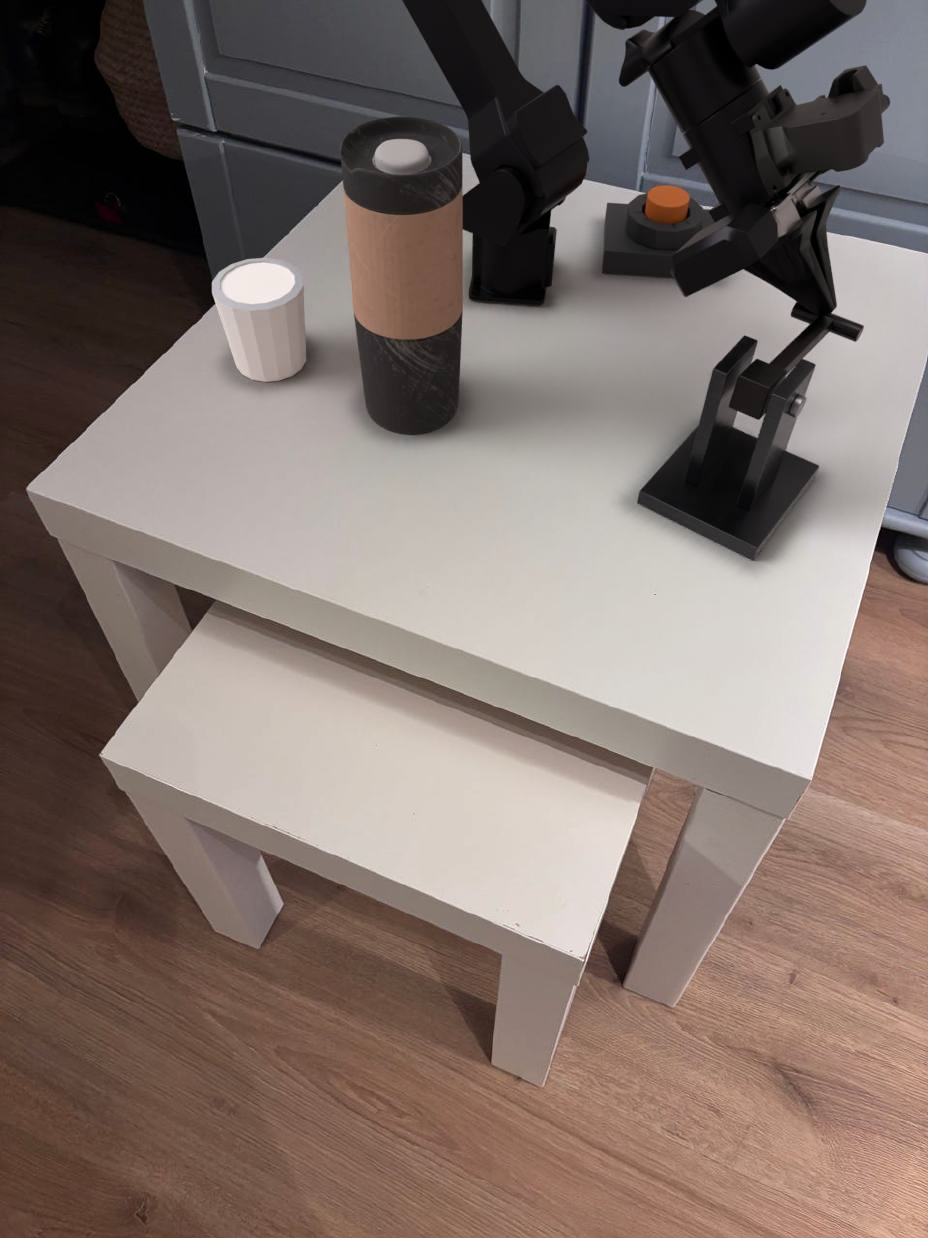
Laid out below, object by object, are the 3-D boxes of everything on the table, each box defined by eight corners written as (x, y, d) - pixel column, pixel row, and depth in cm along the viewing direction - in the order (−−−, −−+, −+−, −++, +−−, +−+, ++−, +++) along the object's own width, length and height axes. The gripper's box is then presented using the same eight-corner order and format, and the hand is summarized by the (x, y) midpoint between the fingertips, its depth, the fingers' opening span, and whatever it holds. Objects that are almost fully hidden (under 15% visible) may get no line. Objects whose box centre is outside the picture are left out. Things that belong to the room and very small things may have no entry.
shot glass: (329, 346, 80) (320, 269, 74) (285, 396, 76) (272, 318, 70) (257, 324, 81) (243, 247, 76) (210, 372, 77) (192, 294, 72)
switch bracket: (703, 427, 74) (736, 302, 65) (815, 477, 71) (864, 353, 62) (636, 503, 69) (662, 378, 60) (752, 561, 66) (797, 438, 57)
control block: (601, 273, 86) (607, 231, 83) (604, 224, 91) (609, 182, 88) (716, 281, 86) (726, 239, 83) (712, 231, 91) (721, 190, 87)
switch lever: (792, 320, 72) (803, 289, 70) (856, 345, 70) (869, 315, 68) (708, 398, 64) (718, 366, 62) (779, 429, 62) (791, 397, 60)
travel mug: (475, 384, 77) (481, 126, 61) (442, 447, 72) (439, 185, 57) (384, 363, 78) (367, 106, 62) (346, 423, 74) (317, 163, 58)
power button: (644, 224, 85) (647, 205, 83) (644, 202, 87) (647, 183, 86) (686, 227, 84) (690, 208, 83) (685, 205, 87) (689, 186, 85)
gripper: (758, 92, 53) (883, 338, 58) (888, -15, 62) (987, 205, 67) (614, 187, 62) (733, 393, 67) (747, 81, 71) (843, 269, 76)
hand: (829, 312), depth 69 cm, fingers closed
